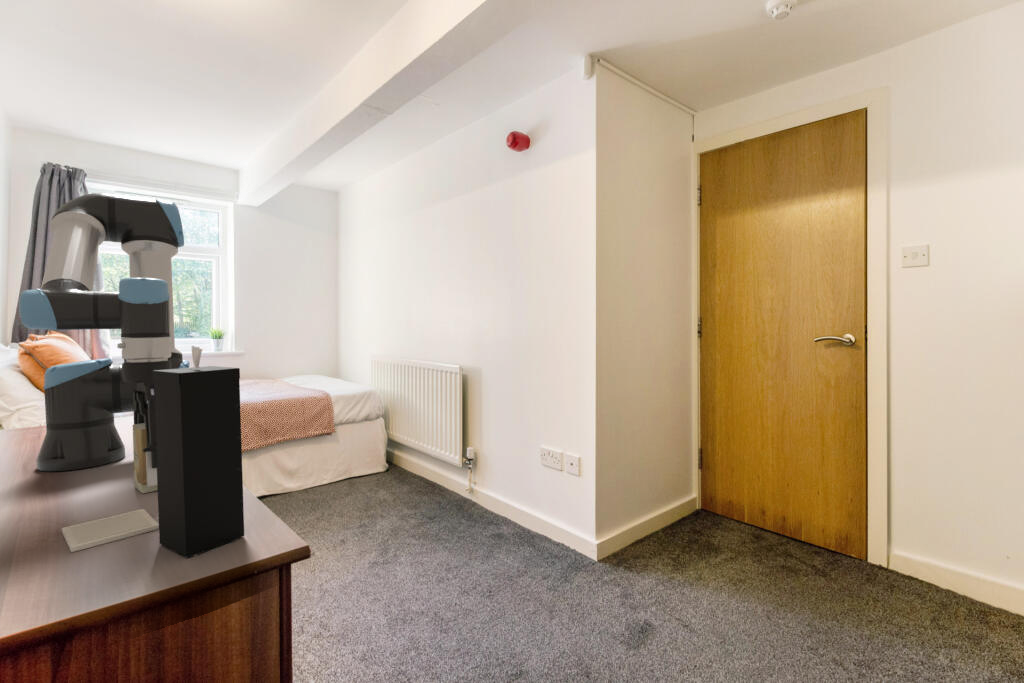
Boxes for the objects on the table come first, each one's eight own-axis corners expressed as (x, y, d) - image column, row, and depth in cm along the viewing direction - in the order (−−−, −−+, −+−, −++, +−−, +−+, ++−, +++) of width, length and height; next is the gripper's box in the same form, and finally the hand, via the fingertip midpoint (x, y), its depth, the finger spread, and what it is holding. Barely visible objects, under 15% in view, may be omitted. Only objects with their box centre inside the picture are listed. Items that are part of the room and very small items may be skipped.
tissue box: (185, 559, 64) (178, 347, 63) (158, 545, 68) (150, 346, 67) (245, 537, 71) (239, 345, 70) (216, 525, 75) (210, 344, 74)
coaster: (61, 532, 73) (61, 527, 73) (143, 512, 81) (143, 508, 80) (71, 552, 66) (70, 547, 66) (159, 528, 74) (159, 524, 74)
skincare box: (133, 487, 93) (131, 424, 93) (160, 481, 97) (158, 420, 96) (142, 494, 89) (140, 428, 89) (170, 488, 92) (168, 424, 92)
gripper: (111, 359, 96) (116, 475, 96) (133, 363, 83) (139, 497, 84) (157, 357, 101) (162, 466, 102) (185, 361, 88) (189, 486, 89)
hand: (151, 480), depth 93 cm, fingers closed on skincare box, 6 cm apart
